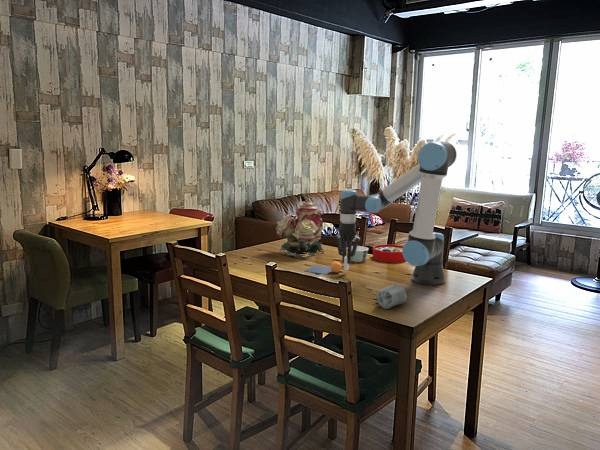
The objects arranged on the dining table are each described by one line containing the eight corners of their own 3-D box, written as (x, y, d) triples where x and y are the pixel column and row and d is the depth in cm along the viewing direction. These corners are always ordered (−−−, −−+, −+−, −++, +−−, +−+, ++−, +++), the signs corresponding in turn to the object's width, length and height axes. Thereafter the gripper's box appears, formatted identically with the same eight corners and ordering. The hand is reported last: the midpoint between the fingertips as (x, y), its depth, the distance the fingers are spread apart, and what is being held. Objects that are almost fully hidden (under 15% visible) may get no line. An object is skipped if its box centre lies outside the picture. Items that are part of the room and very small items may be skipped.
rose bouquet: (271, 250, 298) (271, 199, 293) (316, 246, 309) (317, 197, 304) (287, 260, 275) (287, 205, 269) (335, 256, 286) (336, 203, 281)
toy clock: (407, 245, 290) (411, 252, 271) (407, 255, 291) (411, 263, 272) (372, 243, 293) (373, 251, 273) (372, 253, 294) (373, 262, 274)
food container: (341, 259, 279) (341, 247, 278) (357, 256, 286) (357, 244, 285) (356, 263, 269) (357, 251, 268) (372, 260, 277) (373, 248, 275)
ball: (334, 259, 254) (332, 269, 255) (329, 261, 249) (327, 271, 250) (344, 262, 251) (342, 272, 253) (340, 264, 246) (337, 275, 248)
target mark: (336, 269, 258) (336, 268, 258) (326, 274, 247) (326, 274, 247) (314, 266, 263) (314, 265, 263) (304, 271, 253) (304, 270, 253)
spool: (390, 305, 193) (386, 280, 196) (372, 310, 200) (369, 285, 203) (414, 307, 201) (410, 283, 204) (396, 312, 208) (393, 288, 211)
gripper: (363, 222, 245) (361, 269, 249) (338, 219, 250) (337, 266, 255) (357, 224, 238) (355, 273, 242) (332, 221, 244) (330, 269, 248)
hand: (346, 269), depth 248 cm, fingers closed
